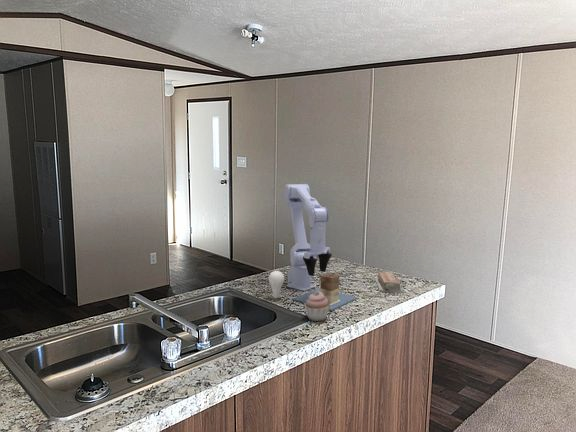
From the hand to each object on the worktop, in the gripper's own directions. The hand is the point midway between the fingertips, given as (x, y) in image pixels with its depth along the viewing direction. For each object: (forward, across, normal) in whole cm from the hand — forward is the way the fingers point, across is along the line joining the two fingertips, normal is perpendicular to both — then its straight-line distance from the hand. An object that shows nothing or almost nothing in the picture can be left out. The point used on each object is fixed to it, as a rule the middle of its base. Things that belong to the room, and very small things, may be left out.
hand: (317, 273), depth 185 cm
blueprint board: (+10, +2, -3) cm, 11 cm away
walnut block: (+5, 0, -6) cm, 8 cm away
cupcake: (+11, -16, -12) cm, 23 cm away
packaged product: (+11, +35, -13) cm, 39 cm away
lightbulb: (+11, -10, +12) cm, 19 cm away
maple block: (+10, 0, -6) cm, 11 cm away
